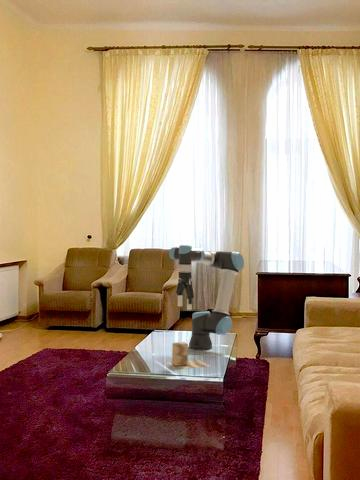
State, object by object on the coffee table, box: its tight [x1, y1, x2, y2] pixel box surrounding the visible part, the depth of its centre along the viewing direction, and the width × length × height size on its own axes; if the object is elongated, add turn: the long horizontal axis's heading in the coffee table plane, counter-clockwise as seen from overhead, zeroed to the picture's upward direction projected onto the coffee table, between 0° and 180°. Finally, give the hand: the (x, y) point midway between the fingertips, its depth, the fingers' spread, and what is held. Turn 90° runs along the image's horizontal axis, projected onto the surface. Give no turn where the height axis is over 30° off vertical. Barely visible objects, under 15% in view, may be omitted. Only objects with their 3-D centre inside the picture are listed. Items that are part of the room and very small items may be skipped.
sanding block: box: [171, 341, 189, 367], centre depth 301 cm, size 7×5×12 cm
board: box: [166, 359, 211, 370], centre depth 303 cm, size 20×16×1 cm
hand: (184, 308), depth 319 cm, fingers open, 13 cm apart
